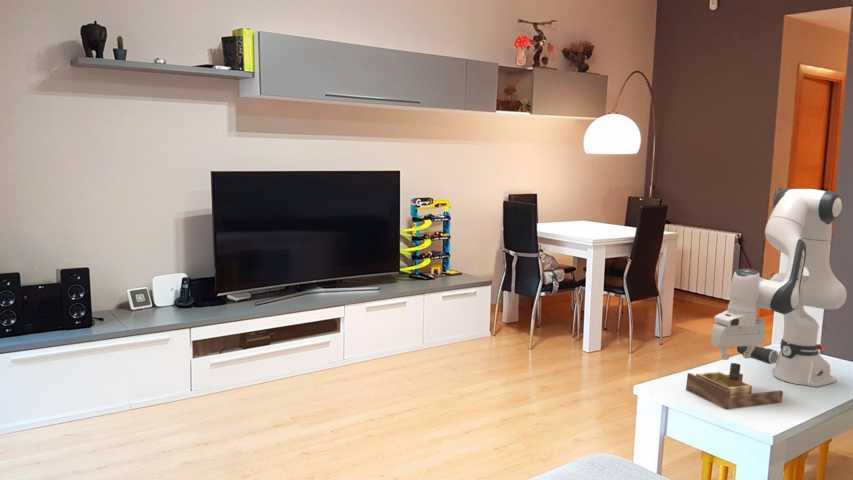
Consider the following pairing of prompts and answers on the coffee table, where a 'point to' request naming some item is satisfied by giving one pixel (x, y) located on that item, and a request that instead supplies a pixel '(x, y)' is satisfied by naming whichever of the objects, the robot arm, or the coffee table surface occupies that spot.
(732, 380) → the crate
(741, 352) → the flashlight
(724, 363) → the coffee table surface
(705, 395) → the bay
